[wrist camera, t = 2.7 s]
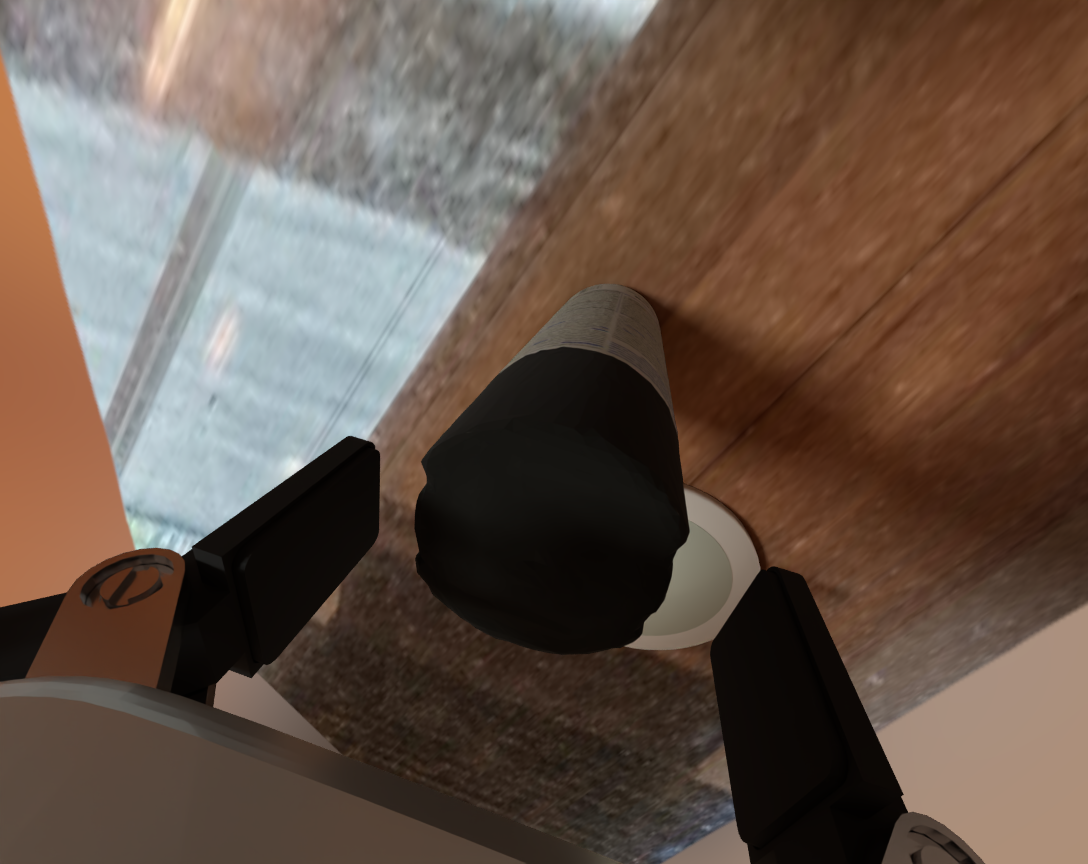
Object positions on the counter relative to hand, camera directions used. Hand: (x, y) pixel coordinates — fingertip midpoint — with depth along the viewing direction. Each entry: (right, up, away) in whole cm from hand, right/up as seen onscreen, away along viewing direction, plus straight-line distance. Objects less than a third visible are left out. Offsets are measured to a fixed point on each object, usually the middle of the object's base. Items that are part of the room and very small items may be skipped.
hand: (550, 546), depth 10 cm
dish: (+8, -8, +24) cm, 27 cm away
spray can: (+4, +9, +16) cm, 19 cm away
